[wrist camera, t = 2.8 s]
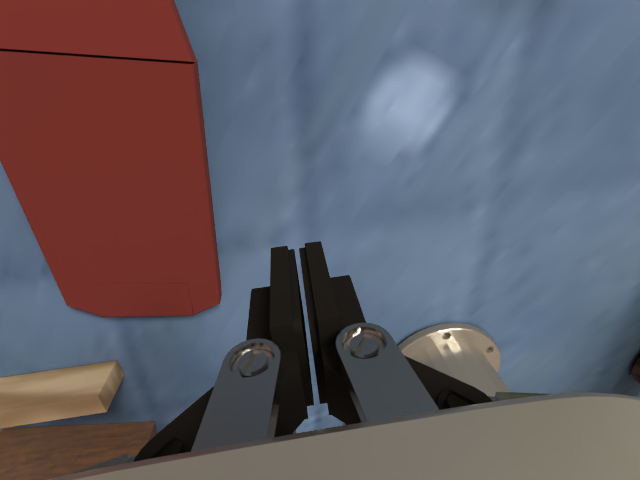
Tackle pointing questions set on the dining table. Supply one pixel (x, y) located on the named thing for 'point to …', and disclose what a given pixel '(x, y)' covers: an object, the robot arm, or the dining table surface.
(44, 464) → the tissue box cover
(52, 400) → the pine frame
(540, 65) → the dining table surface
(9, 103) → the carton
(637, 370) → the decorative book
